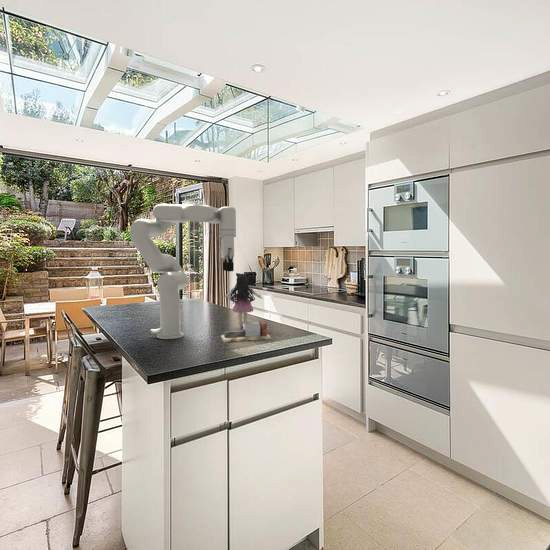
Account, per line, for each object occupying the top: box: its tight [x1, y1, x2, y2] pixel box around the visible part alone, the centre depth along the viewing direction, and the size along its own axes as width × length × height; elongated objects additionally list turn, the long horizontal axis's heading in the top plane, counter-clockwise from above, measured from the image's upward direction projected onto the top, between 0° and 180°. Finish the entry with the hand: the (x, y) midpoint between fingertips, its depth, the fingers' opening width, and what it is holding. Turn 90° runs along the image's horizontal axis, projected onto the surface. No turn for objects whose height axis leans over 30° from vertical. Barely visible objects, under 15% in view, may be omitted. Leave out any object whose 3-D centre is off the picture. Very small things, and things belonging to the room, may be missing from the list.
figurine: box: [223, 272, 264, 329], centre depth 199 cm, size 22×10×30 cm, turn 84°
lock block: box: [242, 321, 260, 337], centre depth 176 cm, size 7×6×6 cm
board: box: [220, 320, 272, 343], centre depth 175 cm, size 22×10×7 cm, turn 107°
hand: (228, 270), depth 171 cm, fingers open, 9 cm apart
